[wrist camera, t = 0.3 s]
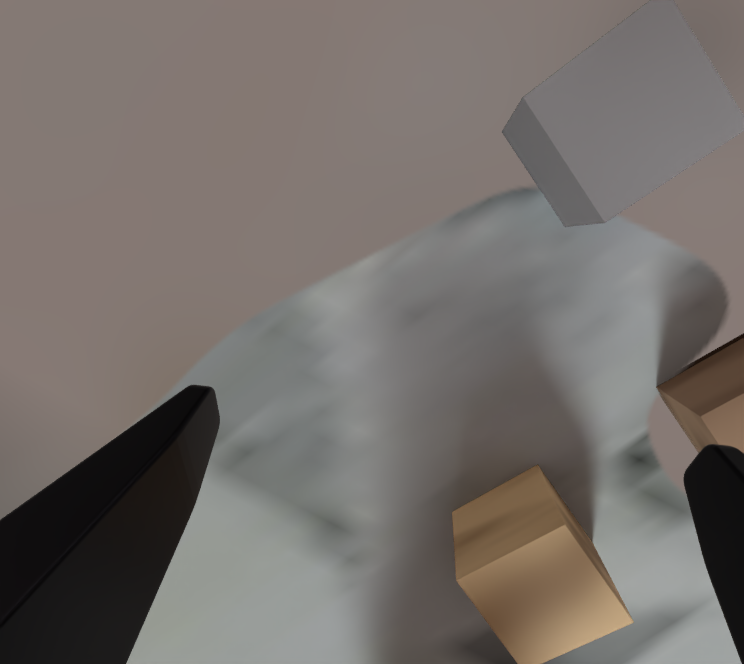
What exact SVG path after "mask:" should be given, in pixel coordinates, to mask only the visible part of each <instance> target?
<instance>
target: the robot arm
mask: <svg viewBox="0 0 744 664" xmlns="http://www.w3.org/2000/svg"><path fill="white" fill-rule="evenodd" d="M219 424H220V415H219V410H218V405H217V399H216V394H215V391H214V389H213V388H212V387H209V386H201V385H190V386H188V387H186V388H185V389H183V390H182V391H181V392H179V393H178V394H176V395H175V396H174V397H172V398H171V399H169V400H168V401H167V402H165V403H164V404H162V405H161V406H160V407H158V408H157V409H155V410H154V411H153V412H151V413H150V414H148V415H147V416H146V417H144V418H143V419H141V420H140V421H138V422H137V423H136V424H134V425H133V426H131V427H130V428H129V429H127V430H126V431H124V432H123V433H122V434H120V435H119V436H117V437H116V438H115V439H113V440H112V441H110V442H109V443H108V444H106V445H105V446H103V447H102V448H101V449H99V450H98V451H96V452H95V453H94V454H92V455H91V456H89V457H88V458H86V459H85V460H84V461H82V462H81V463H80V464H78V465H77V466H75V467H74V468H72V469H71V470H70V471H68V472H67V473H65V474H64V475H63V476H62V477H60V478H58V479H57V480H56V481H54V482H53V483H52V484H50V485H49V486H47V487H46V488H44V489H43V490H42V491H40V492H39V493H37V494H36V495H34V496H33V497H32V498H30V499H29V500H27V501H26V502H25V503H23V504H22V505H20V506H19V507H18V508H16V509H15V510H13V511H12V512H11V513H9V514H8V515H6V516H5V517H4V518H2V519H1V520H0V664H126V663H127V661H128V658H129V656H130V654H131V651H132V649H133V647H134V644H135V642H136V640H137V638H138V635H139V633H140V631H141V628H142V626H143V624H144V621H145V619H146V617H147V615H148V612H149V610H150V608H151V605H152V603H153V601H154V598H155V596H156V594H157V592H158V589H159V587H160V585H161V582H162V580H163V578H164V576H165V573H166V571H167V569H168V566H169V564H170V562H171V559H172V557H173V555H174V553H175V550H176V548H177V546H178V543H179V541H180V539H181V536H182V534H183V532H184V530H185V527H186V525H187V523H188V520H189V518H190V516H191V513H192V511H193V508H194V506H195V503H196V500H197V497H198V494H199V491H200V488H201V485H202V481H203V478H204V475H205V472H206V468H207V465H208V462H209V459H210V455H211V452H212V449H213V446H214V442H215V439H216V436H217V433H218V429H219ZM684 486H685V490H686V494H687V498H688V501H689V505H690V509H691V513H692V517H693V521H694V524H695V528H696V532H697V536H698V540H699V543H700V547H701V551H702V555H703V558H704V561H705V565H706V568H707V571H708V574H709V577H710V580H711V582H712V585H713V588H714V590H715V593H716V596H717V598H718V601H719V604H720V606H721V609H722V612H723V614H724V617H725V620H726V622H727V625H728V628H729V630H730V633H731V636H732V638H733V641H734V644H735V646H736V649H737V652H738V655H739V657H740V660H741V663H742V664H744V453H743V452H741V451H740V450H739V449H737V448H735V447H732V446H726V445H717V444H709V445H706V446H705V447H704V448H703V449H702V450H701V451H700V452H699V454H698V455H697V456H696V458H695V459H694V460H693V461H692V463H691V464H690V465H689V467H688V468H687V469H686V471H685V474H684Z"/></svg>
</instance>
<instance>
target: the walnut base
mask: <svg viewBox="0 0 744 664" xmlns="http://www.w3.org/2000/svg"><path fill="white" fill-rule="evenodd" d="M656 388H657V389H658V391H659V392H660V394H659V395H660V397H661V398H662V400H663V401H664V403H665V404H666V406H667V407H668V409H669V410H670V412H671V413H672V415H673V416H674V417H675V419H676V420H677V422H678V423H679V425H680V426H681V428H682V429H683V431H684V432H685V434H686V435H687V437H688V438H689V440H690V441H691V443H692V444H693V446H694V447H695V449H696V450H697V452H698V453H699V452H700V451H701V450H702V449H703V448H704V447H705V446H706V445H709V444H717V445H726V446H732V447H735V448H737V449H739V450H740V451H741V452H743V453H744V333H743V334H741V335H739V336H738V337H736V338H734V339H732V340H731V341H729V342H727V343H726V344H724V345H722V346H720V347H718V348H717V349H715V350H713V351H711V352H710V353H708V354H706V355H704V356H702V357H701V358H699V359H697V360H695V361H694V362H692V363H690V364H689V365H688V366H687V367H686V368H685V369H684V370H682V372H681V373H680V374H678V375H677V376H675V377H673V378H672V379H670V380H668V381H666V382H664V383H663V384H661V385H659V386H657V387H656Z"/></svg>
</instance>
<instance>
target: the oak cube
mask: <svg viewBox="0 0 744 664" xmlns="http://www.w3.org/2000/svg"><path fill="white" fill-rule="evenodd" d="M452 519H453V536H454V552H455V568H456V581H457V582H458V584H459V585H460V586H461V588H462V589H463V590H464V592H465V593H466V594H467V596H468V597H469V598H470V600H471V601H472V603H473V604H474V605H475V607H476V608H477V609H478V611H479V612H480V613H481V615H482V616H483V617H484V619H485V620H486V622H487V623H488V624H489V626H490V627H491V628H492V630H493V631H494V632H495V634H496V635H497V636H498V638H499V639H500V640H501V642H502V643H503V645H504V646H505V647H506V649H507V650H508V651H509V653H510V654H511V655H512V657H513V658H514V659H515V661H516V662H517V664H542V663H544V662H546V661H548V660H551V659H553V658H555V657H557V656H560V655H562V654H564V653H566V652H569V651H571V650H573V649H575V648H578V647H580V646H582V645H584V644H587V643H589V642H591V641H593V640H596V639H598V638H600V637H602V636H605V635H607V634H609V633H611V632H614V631H616V630H618V629H620V628H623V627H625V626H627V625H629V624H632V623H634V622H633V620H632V618H631V616H630V614H629V612H628V610H627V608H626V606H625V604H624V602H623V600H622V599H621V597H620V595H619V593H618V591H617V589H616V587H615V585H614V583H613V581H612V579H611V577H610V575H609V574H608V572H607V570H606V568H605V566H604V564H603V562H602V560H601V558H600V556H599V554H598V552H597V550H596V549H595V547H594V545H593V543H592V541H591V540H590V539H589V537H588V536H587V534H586V533H585V531H584V530H583V529H582V527H581V526H580V524H579V523H578V521H577V520H576V519H575V517H574V516H573V514H572V513H571V511H570V510H569V509H568V507H567V506H566V504H565V503H564V501H563V500H562V499H561V497H560V496H559V494H558V493H557V491H556V490H555V489H554V487H553V486H552V484H551V483H550V482H549V480H548V479H547V477H546V476H545V474H544V473H543V472H542V470H541V469H540V467H539V466H538V464H537V465H536V466H534V467H532V468H530V469H528V470H527V471H525V472H523V473H521V474H519V475H518V476H516V477H514V478H512V479H510V480H509V481H507V482H505V483H503V484H501V485H500V486H498V487H496V488H494V489H492V490H491V491H489V492H487V493H485V494H483V495H482V496H480V497H478V498H476V499H474V500H473V501H471V502H469V503H467V504H465V505H464V506H462V507H460V508H458V509H456V510H455V511H453V512H452Z"/></svg>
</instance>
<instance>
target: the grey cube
mask: <svg viewBox="0 0 744 664" xmlns="http://www.w3.org/2000/svg"><path fill="white" fill-rule="evenodd" d="M743 131H744V115H743V114H742V112H741V110H740V109H739V107H738V106H737V104H736V102H735V101H734V99H733V97H732V95H731V94H730V92H729V90H728V89H727V87H726V86H725V84H724V82H723V81H722V79H721V77H720V76H719V74H718V72H717V71H716V69H715V67H714V66H713V64H712V62H711V61H710V59H709V58H708V56H707V54H706V53H705V51H704V49H703V48H702V46H701V44H700V43H699V41H698V39H697V38H696V36H695V34H694V33H693V31H692V29H691V28H690V26H689V25H688V23H687V21H686V20H685V18H684V16H683V15H682V13H681V11H680V10H679V8H678V6H677V5H676V3H675V2H674V0H650V1H648V2H647V3H646V4H644V5H643V6H642V7H641V8H639V9H638V10H637V11H635V12H634V13H633V14H631V15H630V16H629V17H627V18H626V19H625V20H624V21H622V22H621V23H620V24H618V25H617V26H616V27H614V28H613V29H612V30H610V31H609V32H608V33H606V34H605V35H604V36H602V37H601V38H600V39H599V40H597V41H596V42H595V43H593V44H592V45H591V46H589V47H588V48H587V49H586V50H584V51H583V52H582V53H580V54H579V55H578V56H576V57H575V58H574V59H572V60H571V61H570V62H568V63H567V64H566V65H564V66H563V67H562V68H561V69H559V70H558V71H556V72H555V73H554V74H553V75H551V76H550V77H549V78H547V79H546V80H545V81H543V82H542V83H541V84H540V85H538V86H537V87H536V88H534V89H533V90H532V91H530V92H529V93H528V94H526V95H525V96H524V97H523V98H522V99H521V101H520V103H519V105H518V106H517V108H516V109H515V111H514V113H513V114H512V116H511V118H510V119H509V121H508V122H507V124H506V126H505V128H504V129H503V131H502V133H503V135H504V136H505V138H506V139H507V141H508V142H509V144H510V145H511V147H512V148H513V150H514V151H515V153H516V154H517V156H518V157H519V159H520V160H521V162H522V163H523V165H524V166H525V168H526V170H527V171H528V173H529V174H530V175H531V177H532V179H533V180H534V182H535V183H536V185H537V186H538V187H539V188H540V190H541V191H542V193H543V194H544V196H545V197H546V199H547V201H548V202H549V204H550V205H551V207H552V208H553V210H554V211H555V213H556V214H557V216H558V217H559V219H560V220H561V222H562V223H563V225H564V226H565V227H569V226H579V225H588V224H598V223H605V222H607V221H608V220H610V219H611V218H613V217H614V216H616V215H617V214H619V213H620V212H622V211H623V210H625V209H626V208H628V207H629V206H631V205H632V204H634V203H635V202H637V201H638V200H640V199H641V198H643V197H644V196H646V195H647V194H649V193H650V192H652V191H653V190H655V189H657V188H658V187H660V186H661V185H662V184H664V183H666V182H667V181H669V180H670V179H672V178H673V177H675V176H676V175H678V174H679V173H681V172H682V171H684V170H685V169H687V168H688V167H690V166H691V165H693V164H694V163H695V162H697V161H699V160H700V159H702V158H703V157H705V156H706V155H708V154H709V153H711V152H712V151H714V150H715V149H717V148H718V147H720V146H721V145H723V144H725V143H726V142H728V141H729V140H730V139H732V138H734V137H735V136H737V135H738V134H740V133H741V132H743Z"/></svg>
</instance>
